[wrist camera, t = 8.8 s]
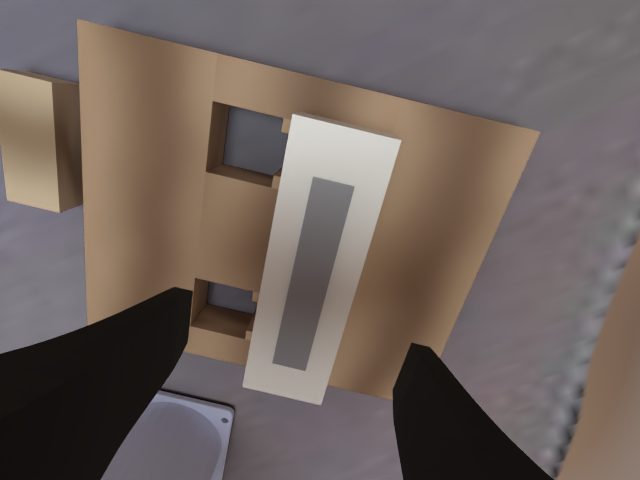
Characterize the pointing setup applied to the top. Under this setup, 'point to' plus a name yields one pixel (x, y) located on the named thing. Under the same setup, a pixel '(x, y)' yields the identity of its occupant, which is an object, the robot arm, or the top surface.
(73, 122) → the block
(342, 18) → the top surface
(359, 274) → the white rectangular block
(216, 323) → the keyhole board
